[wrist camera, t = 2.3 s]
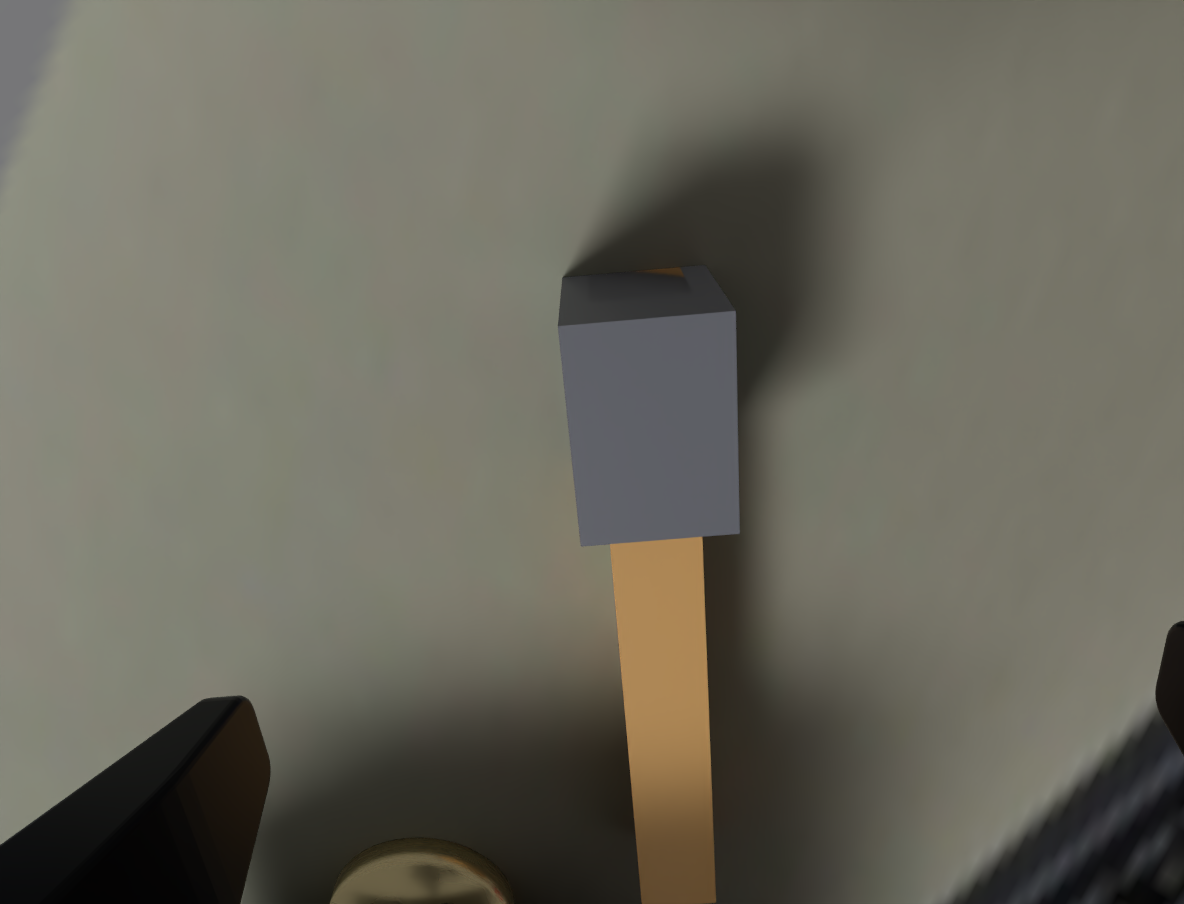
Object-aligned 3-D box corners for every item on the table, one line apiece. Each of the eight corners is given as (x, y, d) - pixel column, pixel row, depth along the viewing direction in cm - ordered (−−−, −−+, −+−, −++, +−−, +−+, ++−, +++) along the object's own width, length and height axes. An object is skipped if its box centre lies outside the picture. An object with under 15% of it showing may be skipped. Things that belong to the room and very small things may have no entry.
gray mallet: (705, 264, 17) (735, 310, 13) (722, 827, 23) (747, 955, 19) (562, 277, 17) (558, 326, 13) (618, 835, 23) (624, 963, 19)
